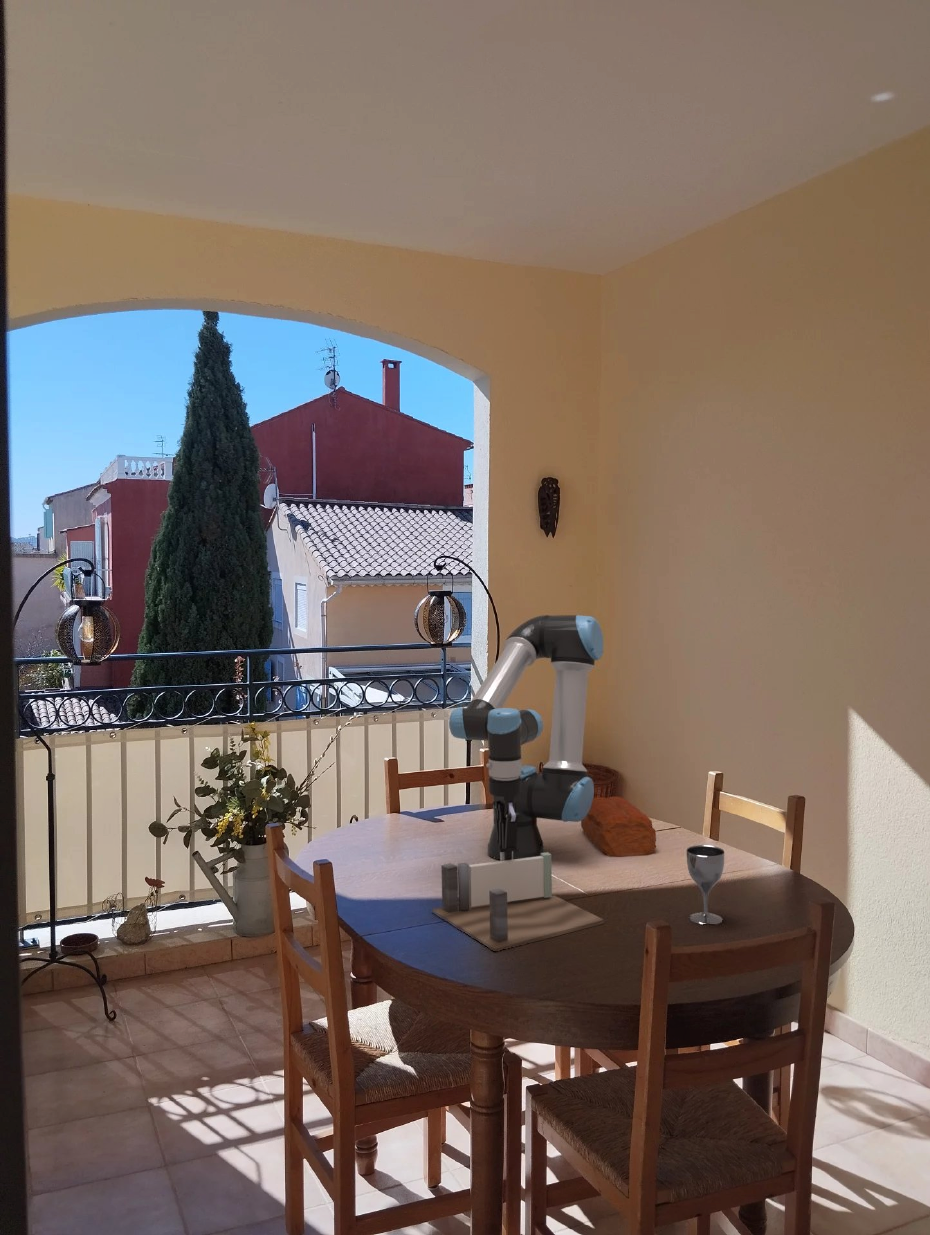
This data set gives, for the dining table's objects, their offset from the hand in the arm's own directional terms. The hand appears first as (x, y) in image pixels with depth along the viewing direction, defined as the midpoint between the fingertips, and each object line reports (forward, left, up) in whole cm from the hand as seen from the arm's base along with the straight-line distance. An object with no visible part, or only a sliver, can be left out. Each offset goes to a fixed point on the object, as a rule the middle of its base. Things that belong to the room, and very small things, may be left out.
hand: (507, 878), depth 219 cm
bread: (-22, +51, -6) cm, 56 cm away
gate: (+3, -2, -5) cm, 6 cm away
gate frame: (+10, -4, -6) cm, 12 cm away
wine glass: (+33, +30, -6) cm, 45 cm away
